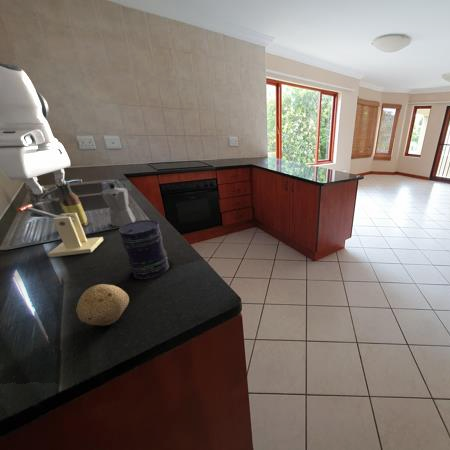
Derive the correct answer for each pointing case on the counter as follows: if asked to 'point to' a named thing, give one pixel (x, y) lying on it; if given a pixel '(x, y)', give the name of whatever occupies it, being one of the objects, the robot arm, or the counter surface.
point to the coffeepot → (118, 206)
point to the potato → (102, 304)
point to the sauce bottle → (71, 203)
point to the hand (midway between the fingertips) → (51, 189)
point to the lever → (39, 212)
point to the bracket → (72, 237)
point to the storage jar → (144, 248)
